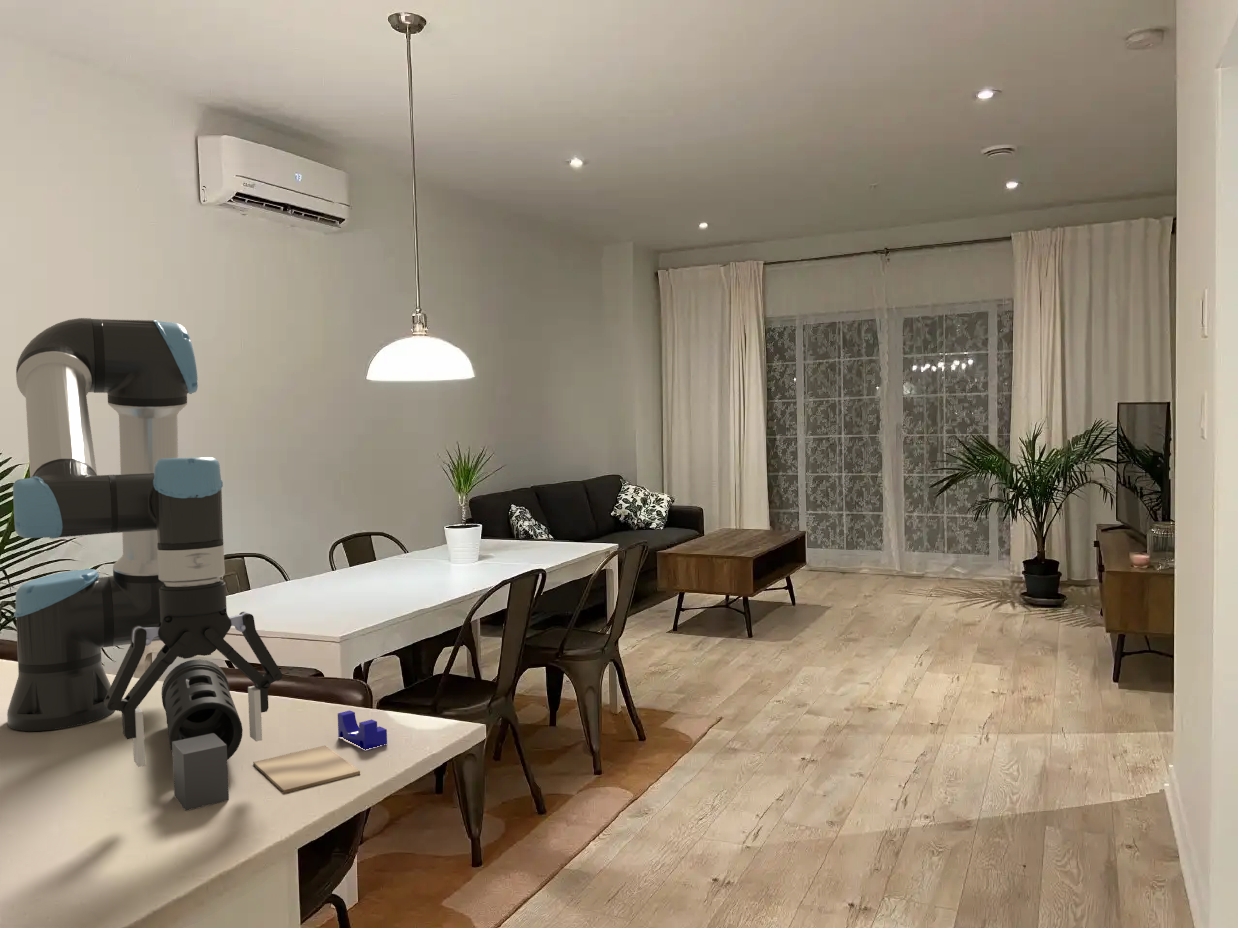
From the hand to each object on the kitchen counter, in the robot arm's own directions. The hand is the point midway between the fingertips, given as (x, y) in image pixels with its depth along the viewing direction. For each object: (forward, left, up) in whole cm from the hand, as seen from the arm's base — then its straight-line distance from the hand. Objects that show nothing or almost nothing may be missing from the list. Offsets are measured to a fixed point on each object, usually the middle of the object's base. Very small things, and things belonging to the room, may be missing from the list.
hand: (199, 750), depth 116 cm
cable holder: (-7, +24, -7) cm, 26 cm away
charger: (0, 0, -6) cm, 6 cm away
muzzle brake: (-21, +5, -7) cm, 23 cm away
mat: (-1, +14, -6) cm, 15 cm away
